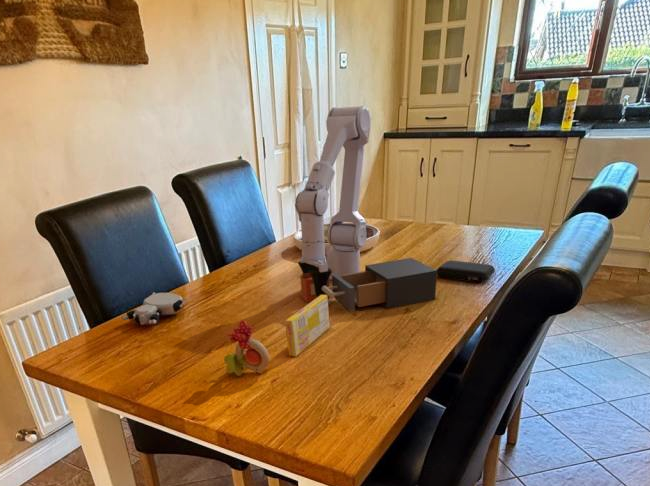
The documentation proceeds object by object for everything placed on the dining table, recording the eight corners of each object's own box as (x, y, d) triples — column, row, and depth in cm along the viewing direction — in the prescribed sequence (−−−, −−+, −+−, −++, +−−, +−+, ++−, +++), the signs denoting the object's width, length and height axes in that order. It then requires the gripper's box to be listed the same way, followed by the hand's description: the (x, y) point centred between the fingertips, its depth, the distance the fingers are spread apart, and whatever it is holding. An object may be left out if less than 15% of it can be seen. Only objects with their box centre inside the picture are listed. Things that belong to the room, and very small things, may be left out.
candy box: (322, 327, 122) (320, 293, 117) (330, 328, 121) (329, 294, 116) (287, 355, 110) (284, 319, 106) (295, 357, 109) (293, 320, 105)
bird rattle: (267, 374, 108) (229, 355, 108) (283, 331, 101) (242, 311, 102) (255, 389, 103) (215, 369, 104) (271, 345, 96) (229, 324, 97)
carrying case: (431, 279, 145) (484, 286, 138) (432, 268, 144) (485, 274, 136) (445, 268, 153) (496, 274, 145) (446, 258, 151) (497, 263, 143)
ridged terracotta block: (306, 302, 137) (305, 276, 133) (301, 297, 140) (299, 272, 137) (330, 298, 138) (329, 272, 134) (324, 293, 142) (323, 268, 138)
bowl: (277, 253, 180) (275, 230, 176) (322, 233, 200) (321, 212, 196) (353, 262, 164) (353, 237, 160) (393, 240, 185) (394, 217, 181)
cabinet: (386, 308, 129) (387, 279, 125) (365, 292, 140) (365, 265, 136) (435, 299, 132) (437, 270, 128) (409, 284, 143) (411, 257, 139)
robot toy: (157, 334, 127) (193, 309, 137) (152, 318, 125) (190, 293, 135) (121, 328, 133) (158, 304, 143) (115, 312, 130) (154, 289, 140)
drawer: (334, 313, 126) (334, 291, 123) (318, 298, 136) (317, 277, 133) (396, 302, 130) (396, 280, 127) (375, 288, 139) (375, 267, 136)
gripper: (289, 236, 137) (293, 285, 144) (307, 248, 125) (310, 302, 132) (314, 232, 138) (317, 281, 145) (334, 244, 126) (336, 297, 133)
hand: (315, 291), depth 138 cm, fingers open, 7 cm apart
